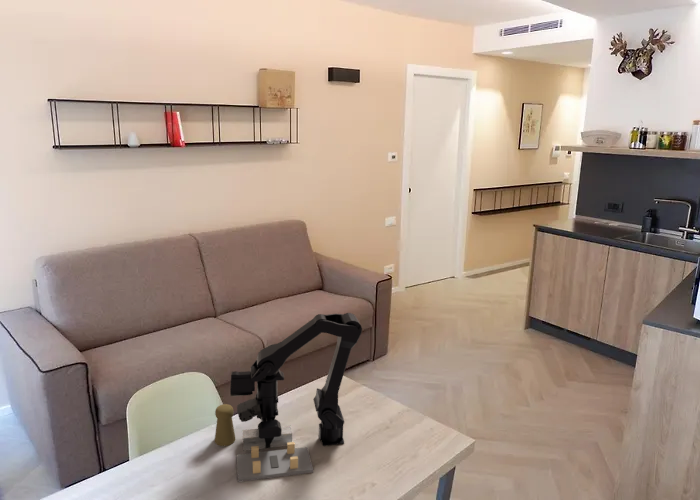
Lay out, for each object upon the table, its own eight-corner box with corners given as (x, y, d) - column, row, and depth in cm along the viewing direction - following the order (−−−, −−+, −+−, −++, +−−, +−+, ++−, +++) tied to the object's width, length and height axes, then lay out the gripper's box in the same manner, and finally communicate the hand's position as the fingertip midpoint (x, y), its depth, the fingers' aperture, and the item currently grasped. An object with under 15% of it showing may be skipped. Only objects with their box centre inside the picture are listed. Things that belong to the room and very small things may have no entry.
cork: (230, 447, 152) (229, 413, 149) (210, 444, 153) (209, 410, 150) (238, 435, 158) (238, 402, 155) (220, 432, 159) (219, 399, 156)
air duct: (290, 436, 158) (290, 424, 157) (292, 445, 154) (292, 432, 153) (242, 442, 155) (242, 429, 154) (243, 450, 151) (243, 438, 150)
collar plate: (307, 449, 153) (307, 437, 152) (313, 472, 143) (313, 459, 142) (236, 457, 148) (236, 445, 147) (237, 481, 139) (237, 468, 138)
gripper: (237, 379, 157) (238, 425, 161) (239, 413, 140) (240, 464, 144) (274, 376, 160) (274, 421, 164) (281, 409, 142) (281, 459, 146)
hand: (267, 440), depth 154 cm, fingers closed on air duct, 4 cm apart
